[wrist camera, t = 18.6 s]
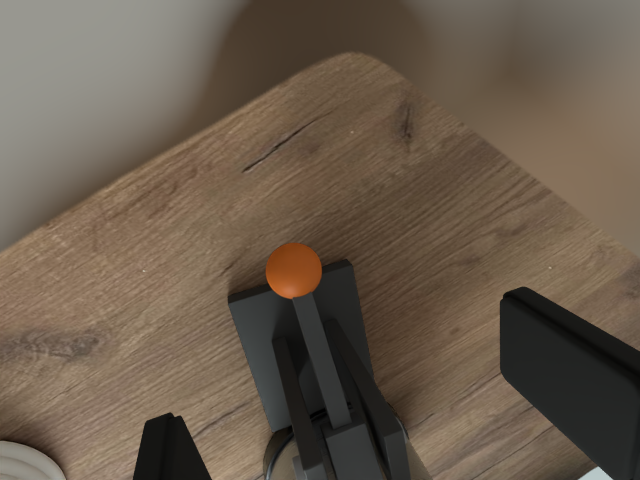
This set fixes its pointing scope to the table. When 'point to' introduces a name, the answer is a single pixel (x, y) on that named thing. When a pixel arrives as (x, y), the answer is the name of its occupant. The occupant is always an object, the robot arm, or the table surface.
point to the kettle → (285, 448)
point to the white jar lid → (26, 464)
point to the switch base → (298, 375)
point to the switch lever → (323, 364)
